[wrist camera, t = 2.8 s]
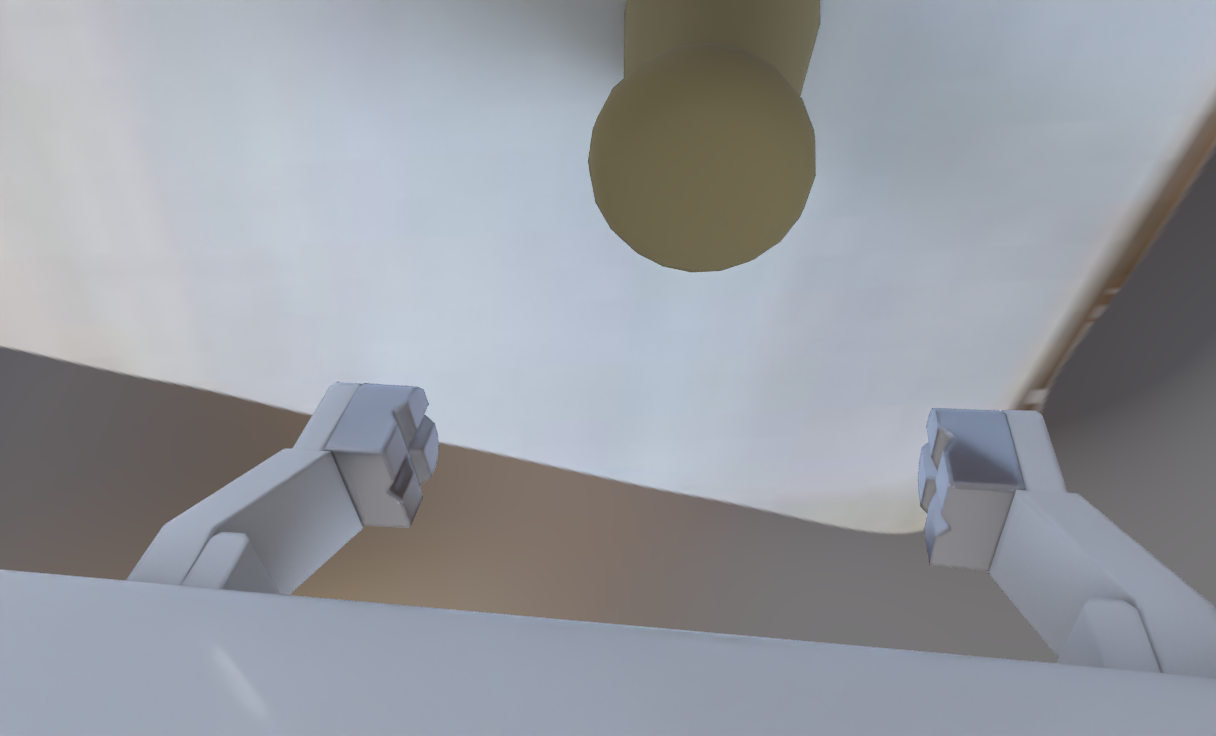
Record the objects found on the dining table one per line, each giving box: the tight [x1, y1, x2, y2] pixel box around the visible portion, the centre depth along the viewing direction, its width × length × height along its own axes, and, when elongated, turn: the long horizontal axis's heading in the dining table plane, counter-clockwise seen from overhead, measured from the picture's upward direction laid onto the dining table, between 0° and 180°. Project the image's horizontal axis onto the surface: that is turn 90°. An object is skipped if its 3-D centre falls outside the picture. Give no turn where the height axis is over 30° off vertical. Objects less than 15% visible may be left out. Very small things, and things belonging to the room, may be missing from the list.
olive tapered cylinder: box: [588, 0, 820, 272], centre depth 23 cm, size 6×6×11 cm
